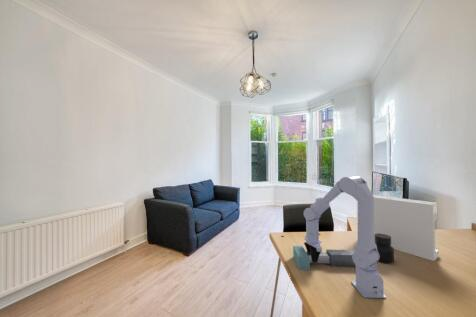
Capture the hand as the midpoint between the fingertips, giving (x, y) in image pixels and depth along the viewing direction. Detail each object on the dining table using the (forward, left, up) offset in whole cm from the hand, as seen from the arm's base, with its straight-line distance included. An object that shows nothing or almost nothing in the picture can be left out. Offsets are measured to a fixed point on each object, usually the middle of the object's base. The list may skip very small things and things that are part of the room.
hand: (312, 259), depth 97 cm
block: (+21, -54, -2) cm, 58 cm away
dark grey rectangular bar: (0, -15, -2) cm, 15 cm away
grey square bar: (0, -3, -1) cm, 3 cm away
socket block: (0, +6, -2) cm, 6 cm away
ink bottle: (+5, -37, -2) cm, 37 cm away
